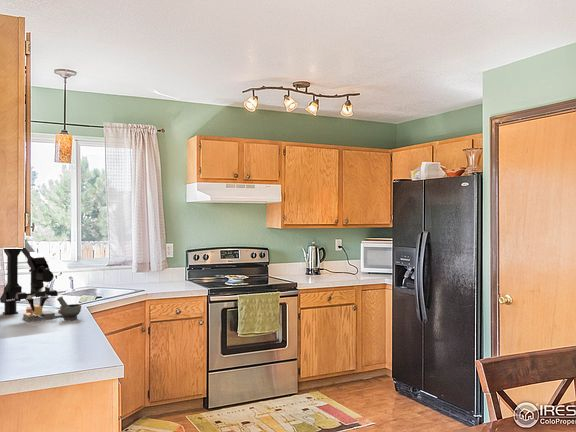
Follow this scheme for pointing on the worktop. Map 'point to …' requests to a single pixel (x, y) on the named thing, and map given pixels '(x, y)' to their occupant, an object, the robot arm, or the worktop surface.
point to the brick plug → (29, 310)
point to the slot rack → (45, 315)
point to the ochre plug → (37, 310)
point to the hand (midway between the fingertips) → (36, 311)
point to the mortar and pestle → (69, 310)
